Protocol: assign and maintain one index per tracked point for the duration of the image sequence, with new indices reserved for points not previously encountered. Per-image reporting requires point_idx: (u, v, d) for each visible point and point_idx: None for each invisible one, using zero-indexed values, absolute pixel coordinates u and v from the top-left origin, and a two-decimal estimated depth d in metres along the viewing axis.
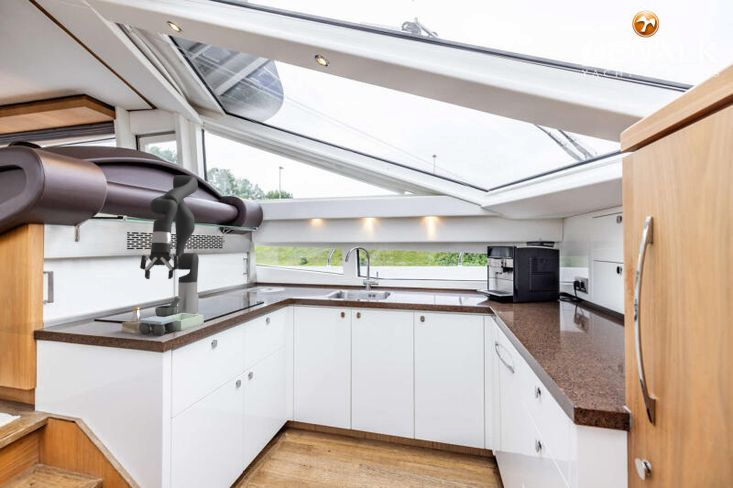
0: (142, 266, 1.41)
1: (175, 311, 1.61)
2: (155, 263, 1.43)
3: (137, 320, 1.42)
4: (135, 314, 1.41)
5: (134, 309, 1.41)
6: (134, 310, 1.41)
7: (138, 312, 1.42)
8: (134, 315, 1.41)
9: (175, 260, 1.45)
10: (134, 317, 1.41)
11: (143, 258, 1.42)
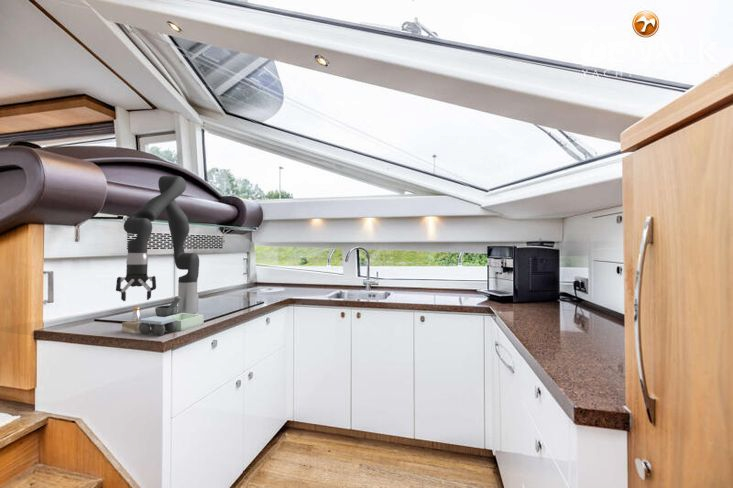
0: (118, 288, 1.38)
1: (175, 311, 1.61)
2: (132, 285, 1.41)
3: (137, 320, 1.42)
4: (135, 314, 1.41)
5: (134, 309, 1.41)
6: (134, 310, 1.41)
7: (138, 312, 1.42)
8: (134, 315, 1.41)
9: (153, 281, 1.45)
10: (134, 317, 1.41)
11: (119, 280, 1.39)
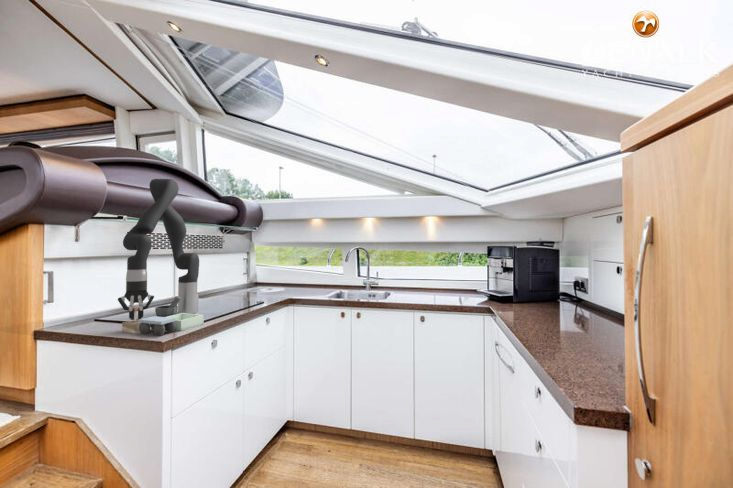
0: (126, 307, 1.40)
1: (175, 311, 1.61)
2: (135, 301, 1.41)
3: (137, 320, 1.42)
4: (135, 314, 1.41)
5: (134, 309, 1.41)
6: (134, 310, 1.41)
7: (138, 312, 1.42)
8: (134, 315, 1.41)
9: (150, 300, 1.44)
10: (134, 317, 1.41)
11: (120, 300, 1.39)
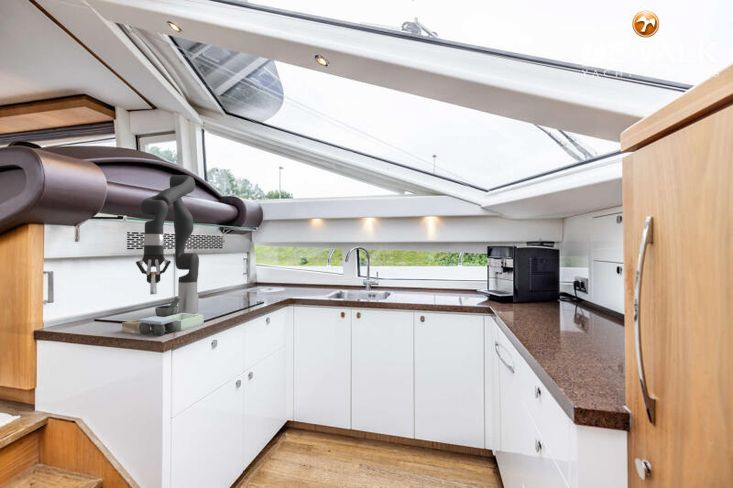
0: (144, 271, 1.43)
1: (175, 311, 1.61)
2: (152, 264, 1.45)
3: (154, 284, 1.45)
4: (152, 277, 1.45)
5: (152, 273, 1.44)
6: (151, 274, 1.45)
7: (155, 276, 1.45)
8: (151, 279, 1.45)
9: (167, 265, 1.47)
10: (151, 281, 1.45)
11: (138, 264, 1.42)
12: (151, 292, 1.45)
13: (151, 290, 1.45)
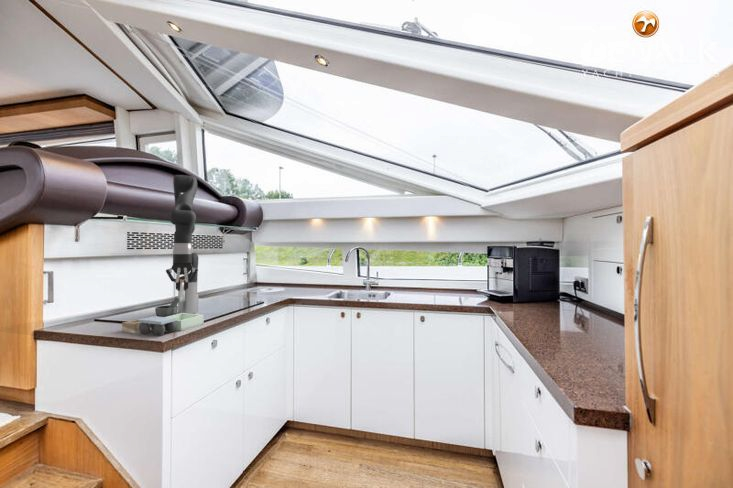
0: (173, 279, 1.48)
1: (175, 311, 1.61)
2: (181, 273, 1.50)
3: (183, 291, 1.50)
4: (181, 285, 1.49)
5: (180, 281, 1.49)
6: (180, 281, 1.49)
7: (184, 284, 1.50)
8: (180, 286, 1.49)
9: (194, 273, 1.52)
10: (180, 288, 1.49)
11: (168, 272, 1.47)
12: (180, 299, 1.49)
13: (180, 297, 1.49)
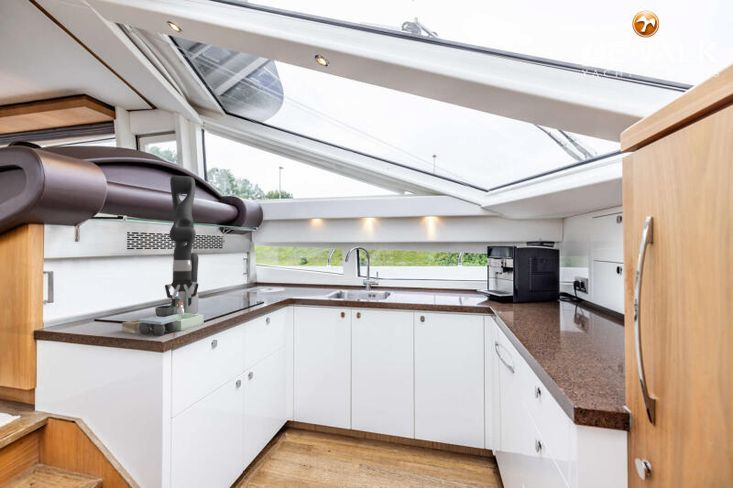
0: (169, 295, 1.47)
1: (175, 311, 1.61)
2: (179, 290, 1.49)
3: (182, 314, 1.50)
4: (180, 308, 1.49)
5: (179, 304, 1.49)
6: (179, 305, 1.49)
7: (182, 307, 1.50)
8: (179, 310, 1.49)
9: (196, 288, 1.52)
10: (179, 311, 1.49)
11: (167, 288, 1.47)
12: None
13: None
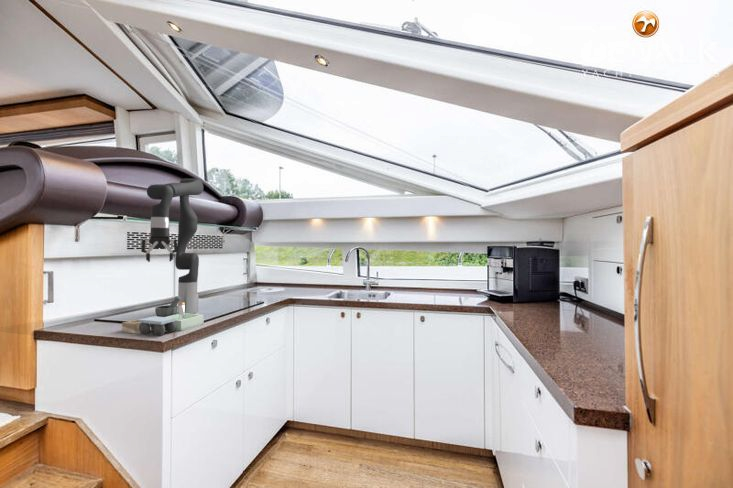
0: (143, 250, 1.49)
1: (175, 311, 1.61)
2: (156, 247, 1.51)
3: (183, 314, 1.50)
4: (181, 308, 1.49)
5: (180, 304, 1.49)
6: (180, 305, 1.49)
7: (183, 307, 1.50)
8: (180, 309, 1.49)
9: (175, 244, 1.55)
10: (180, 311, 1.49)
11: (144, 242, 1.49)
12: None
13: None
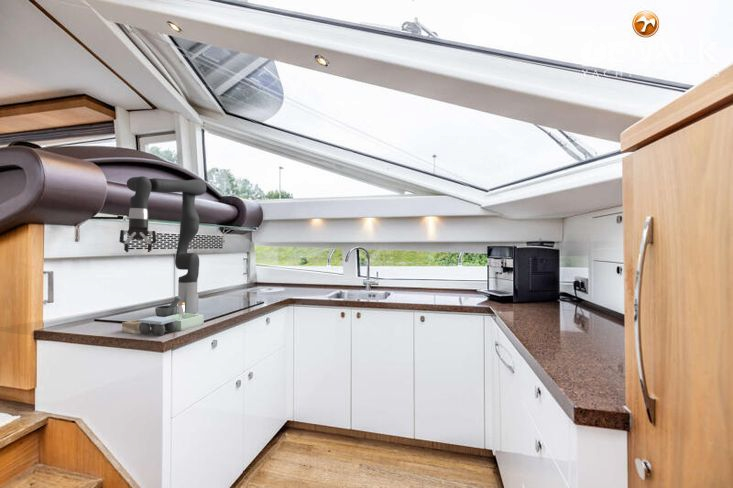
0: (121, 240, 1.52)
1: (175, 311, 1.61)
2: (134, 237, 1.54)
3: (183, 314, 1.50)
4: (181, 308, 1.49)
5: (180, 304, 1.49)
6: (180, 305, 1.49)
7: (183, 307, 1.50)
8: (180, 309, 1.49)
9: (154, 235, 1.58)
10: (180, 311, 1.49)
11: (122, 233, 1.52)
12: None
13: None
